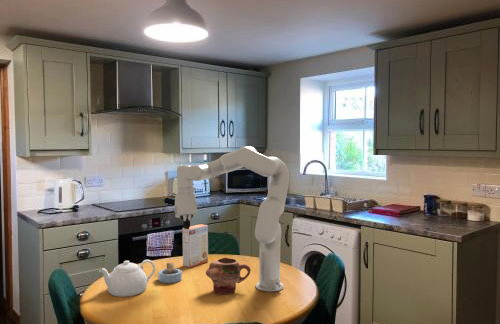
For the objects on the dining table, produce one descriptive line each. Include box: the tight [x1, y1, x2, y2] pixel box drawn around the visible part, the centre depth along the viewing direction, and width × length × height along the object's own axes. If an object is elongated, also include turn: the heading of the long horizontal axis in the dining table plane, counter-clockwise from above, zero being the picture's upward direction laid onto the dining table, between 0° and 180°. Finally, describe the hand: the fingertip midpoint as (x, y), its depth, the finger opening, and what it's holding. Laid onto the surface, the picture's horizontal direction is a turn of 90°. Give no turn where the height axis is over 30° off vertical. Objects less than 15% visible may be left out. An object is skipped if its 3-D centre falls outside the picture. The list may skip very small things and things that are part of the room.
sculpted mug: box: [205, 257, 251, 295], centre depth 189 cm, size 20×12×14 cm, turn 103°
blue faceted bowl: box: [157, 268, 183, 285], centre depth 204 cm, size 11×11×4 cm
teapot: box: [98, 259, 156, 298], centre depth 189 cm, size 19×18×14 cm
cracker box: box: [181, 223, 209, 268], centre depth 231 cm, size 14×6×21 cm, turn 141°
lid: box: [166, 262, 175, 274], centre depth 204 cm, size 6×6×7 cm
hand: (186, 228), depth 205 cm, fingers closed
